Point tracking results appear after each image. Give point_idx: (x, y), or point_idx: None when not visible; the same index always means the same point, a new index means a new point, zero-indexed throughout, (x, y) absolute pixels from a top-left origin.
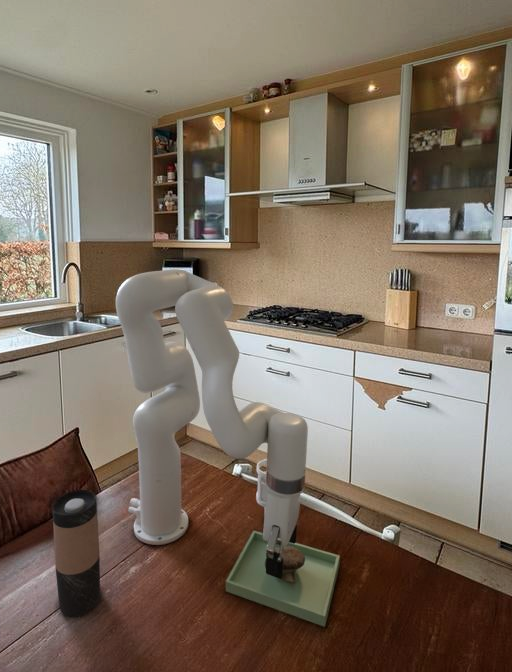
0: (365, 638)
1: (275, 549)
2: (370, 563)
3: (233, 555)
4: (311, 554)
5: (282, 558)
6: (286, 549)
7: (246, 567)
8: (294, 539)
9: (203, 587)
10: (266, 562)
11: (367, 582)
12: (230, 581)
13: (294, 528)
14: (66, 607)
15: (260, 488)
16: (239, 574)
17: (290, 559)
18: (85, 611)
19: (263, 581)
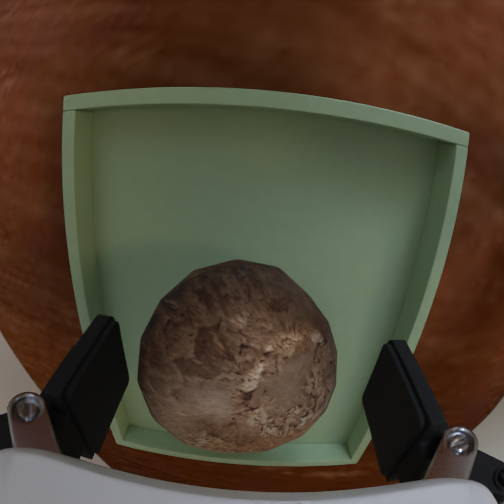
0: (148, 469)
1: (250, 360)
2: (363, 475)
3: (309, 49)
4: None
5: (87, 456)
6: (240, 430)
7: (231, 141)
8: (367, 414)
9: (86, 13)
10: (70, 355)
11: (301, 479)
12: (69, 117)
13: (381, 469)
14: None
15: None
16: (173, 122)
17: (182, 441)
18: None
19: (177, 247)
